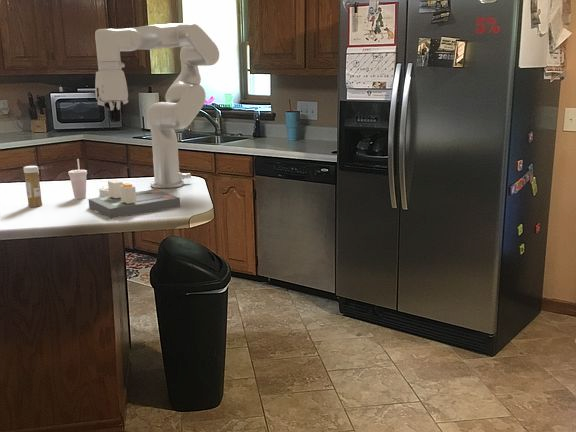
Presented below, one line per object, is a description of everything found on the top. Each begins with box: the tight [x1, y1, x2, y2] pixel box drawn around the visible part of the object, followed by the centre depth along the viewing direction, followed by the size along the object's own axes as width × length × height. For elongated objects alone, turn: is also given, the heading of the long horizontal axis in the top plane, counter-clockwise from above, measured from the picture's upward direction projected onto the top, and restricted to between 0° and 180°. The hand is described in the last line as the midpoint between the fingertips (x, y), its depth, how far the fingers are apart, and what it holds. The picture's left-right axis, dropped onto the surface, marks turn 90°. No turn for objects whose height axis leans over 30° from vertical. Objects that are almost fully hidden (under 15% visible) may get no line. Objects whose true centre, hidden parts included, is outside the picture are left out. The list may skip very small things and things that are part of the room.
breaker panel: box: [88, 188, 181, 219], centre depth 204 cm, size 24×18×3 cm
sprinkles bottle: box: [22, 165, 43, 208], centre depth 207 cm, size 5×5×14 cm
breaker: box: [107, 179, 124, 198], centre depth 205 cm, size 3×5×5 cm, turn 37°
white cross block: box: [98, 184, 109, 197], centre depth 223 cm, size 12×12×4 cm
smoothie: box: [67, 158, 88, 200], centre depth 218 cm, size 6×6×14 cm
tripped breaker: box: [120, 182, 137, 204], centre depth 197 cm, size 3×5×6 cm, turn 37°
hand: (114, 121), depth 214 cm, fingers closed
